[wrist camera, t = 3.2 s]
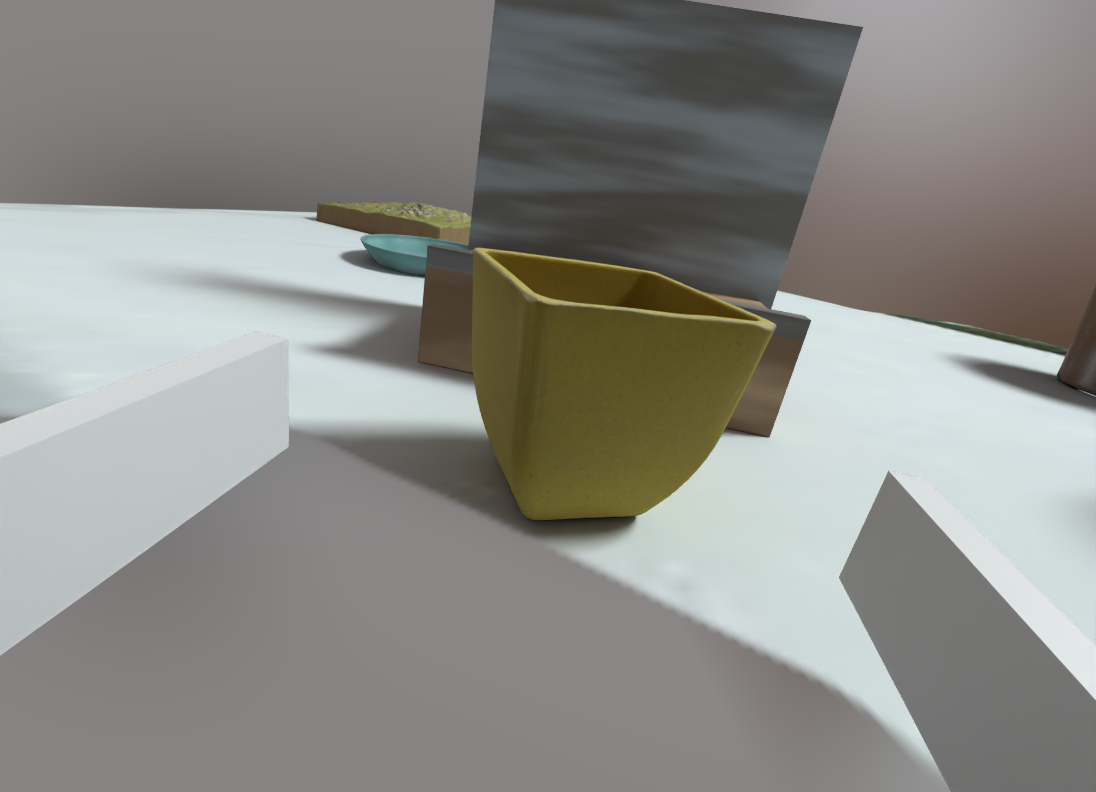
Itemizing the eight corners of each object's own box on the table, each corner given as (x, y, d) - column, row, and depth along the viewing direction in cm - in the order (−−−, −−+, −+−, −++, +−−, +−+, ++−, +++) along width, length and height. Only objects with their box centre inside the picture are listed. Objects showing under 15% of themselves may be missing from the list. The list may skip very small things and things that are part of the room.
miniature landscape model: (315, 224, 83) (315, 189, 81) (407, 222, 104) (409, 194, 102) (437, 253, 77) (441, 216, 75) (509, 245, 98) (513, 216, 96)
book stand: (786, 440, 32) (969, -51, 23) (402, 358, 34) (436, -124, 25) (744, 369, 45) (851, 35, 36) (467, 312, 47) (504, -17, 38)
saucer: (453, 257, 73) (455, 237, 72) (512, 285, 63) (515, 262, 62) (341, 251, 65) (342, 228, 64) (389, 282, 54) (390, 255, 53)
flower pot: (615, 438, 29) (656, 268, 25) (709, 545, 21) (785, 322, 18) (449, 439, 26) (470, 245, 22) (490, 563, 18) (531, 298, 15)
